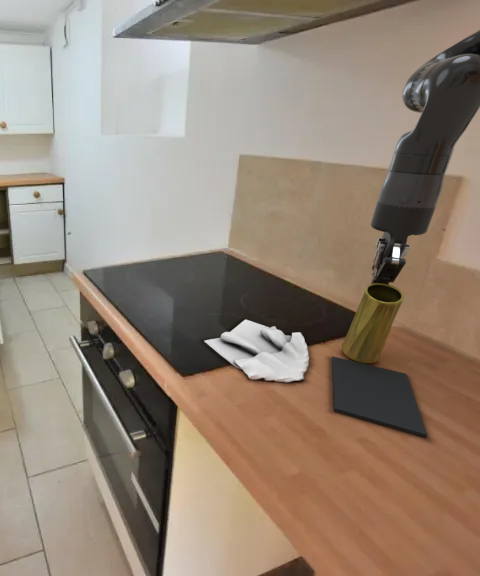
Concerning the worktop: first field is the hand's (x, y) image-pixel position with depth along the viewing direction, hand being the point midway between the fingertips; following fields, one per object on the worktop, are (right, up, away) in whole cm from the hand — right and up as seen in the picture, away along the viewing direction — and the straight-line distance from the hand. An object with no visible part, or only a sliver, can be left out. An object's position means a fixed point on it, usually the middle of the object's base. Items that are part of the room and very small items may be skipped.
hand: (374, 299), depth 67 cm
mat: (-5, -15, -6) cm, 17 cm away
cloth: (-17, -10, +6) cm, 21 cm away
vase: (0, -10, +3) cm, 10 cm away
